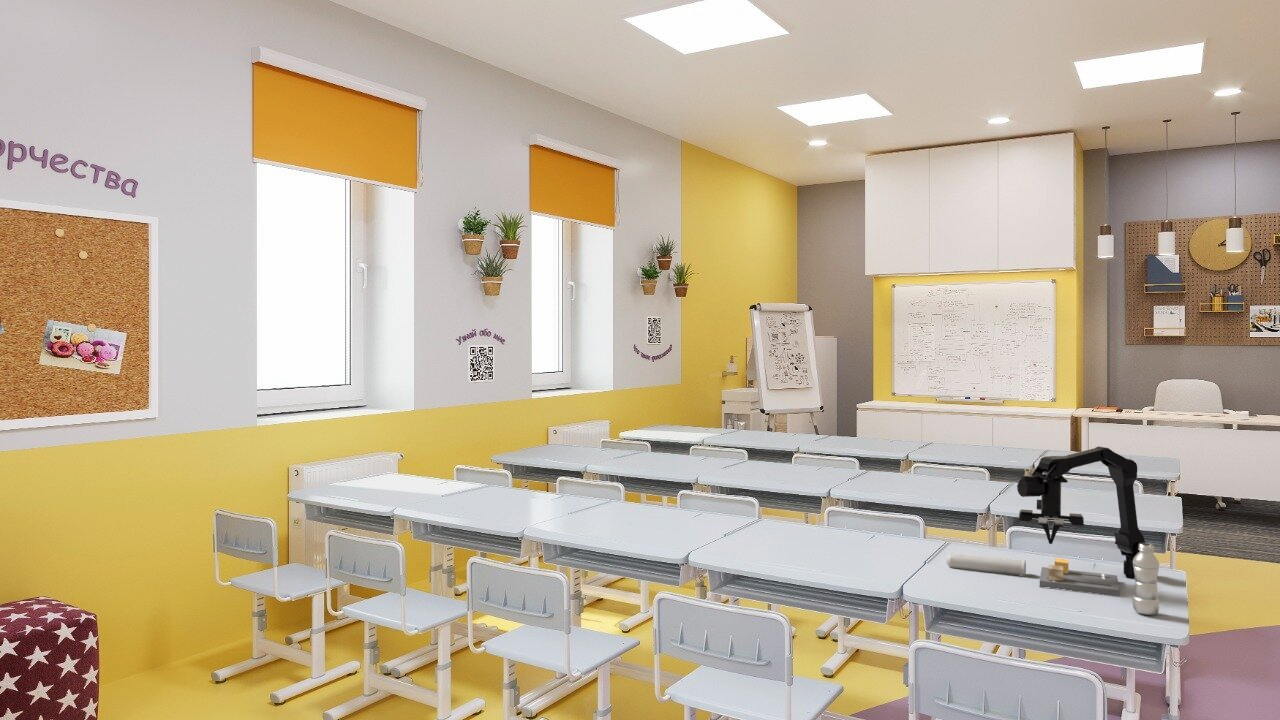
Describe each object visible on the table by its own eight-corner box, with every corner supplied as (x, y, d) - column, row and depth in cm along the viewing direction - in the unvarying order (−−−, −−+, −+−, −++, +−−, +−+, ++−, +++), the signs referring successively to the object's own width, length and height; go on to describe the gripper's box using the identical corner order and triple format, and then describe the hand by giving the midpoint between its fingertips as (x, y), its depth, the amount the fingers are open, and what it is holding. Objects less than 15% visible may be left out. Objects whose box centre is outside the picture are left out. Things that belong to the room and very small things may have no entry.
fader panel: (1116, 581, 271) (1116, 574, 271) (1119, 596, 255) (1119, 589, 255) (1041, 572, 281) (1041, 566, 281) (1039, 586, 265) (1039, 580, 265)
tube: (944, 557, 287) (1024, 566, 275) (946, 549, 292) (1025, 557, 280) (945, 571, 289) (1025, 579, 277) (947, 562, 293) (1026, 571, 281)
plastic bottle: (1150, 619, 234) (1151, 548, 234) (1127, 612, 240) (1127, 543, 240) (1164, 615, 237) (1165, 545, 237) (1140, 608, 243) (1141, 540, 243)
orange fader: (1068, 570, 276) (1068, 559, 276) (1068, 573, 272) (1068, 563, 272) (1054, 568, 278) (1055, 558, 278) (1054, 572, 274) (1054, 561, 273)
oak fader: (1063, 577, 268) (1063, 566, 268) (1062, 581, 263) (1062, 570, 263) (1049, 575, 270) (1049, 564, 270) (1048, 579, 265) (1048, 568, 265)
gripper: (1082, 494, 275) (1082, 541, 275) (1020, 489, 283) (1019, 535, 283) (1084, 500, 265) (1083, 549, 265) (1019, 495, 273) (1018, 542, 273)
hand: (1050, 543), depth 272 cm, fingers closed
